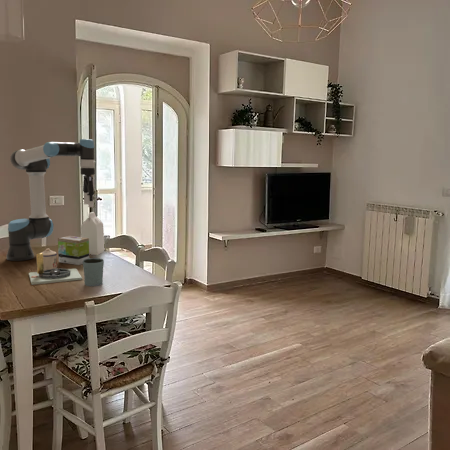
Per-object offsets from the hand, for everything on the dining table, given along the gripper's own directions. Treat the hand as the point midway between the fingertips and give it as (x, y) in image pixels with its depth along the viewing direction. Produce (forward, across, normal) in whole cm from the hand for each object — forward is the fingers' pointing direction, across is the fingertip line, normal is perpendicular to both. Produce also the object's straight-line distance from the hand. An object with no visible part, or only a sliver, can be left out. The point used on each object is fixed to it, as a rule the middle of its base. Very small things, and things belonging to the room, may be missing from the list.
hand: (88, 205), depth 263 cm
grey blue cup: (+35, -37, +5) cm, 51 cm away
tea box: (+35, +13, +7) cm, 38 cm away
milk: (+35, +36, -8) cm, 51 cm away
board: (+35, -17, +21) cm, 44 cm away
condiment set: (+35, +3, +22) cm, 41 cm away
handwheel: (+33, -17, +21) cm, 43 cm away
